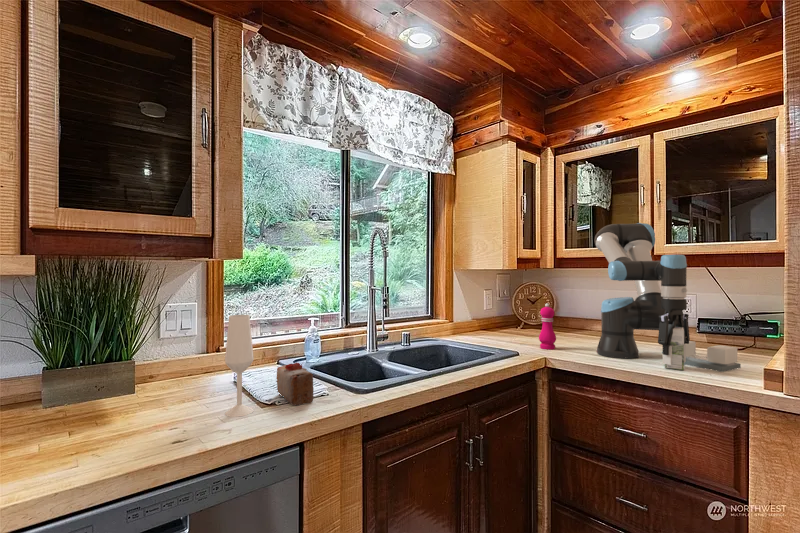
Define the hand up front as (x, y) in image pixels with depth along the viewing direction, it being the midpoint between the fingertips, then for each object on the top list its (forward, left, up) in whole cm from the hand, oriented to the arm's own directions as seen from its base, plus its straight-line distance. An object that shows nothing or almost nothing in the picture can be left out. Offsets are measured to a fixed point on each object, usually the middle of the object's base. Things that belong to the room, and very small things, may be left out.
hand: (674, 362), depth 145 cm
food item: (-28, -127, -2) cm, 130 cm away
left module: (-6, +15, 0) cm, 16 cm away
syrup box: (0, 0, -2) cm, 2 cm away
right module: (+8, +15, 0) cm, 17 cm away
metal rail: (+1, +15, 0) cm, 15 cm away
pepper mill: (-47, -12, -2) cm, 49 cm away
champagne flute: (-23, -142, -2) cm, 144 cm away
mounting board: (+1, +15, -2) cm, 15 cm away
